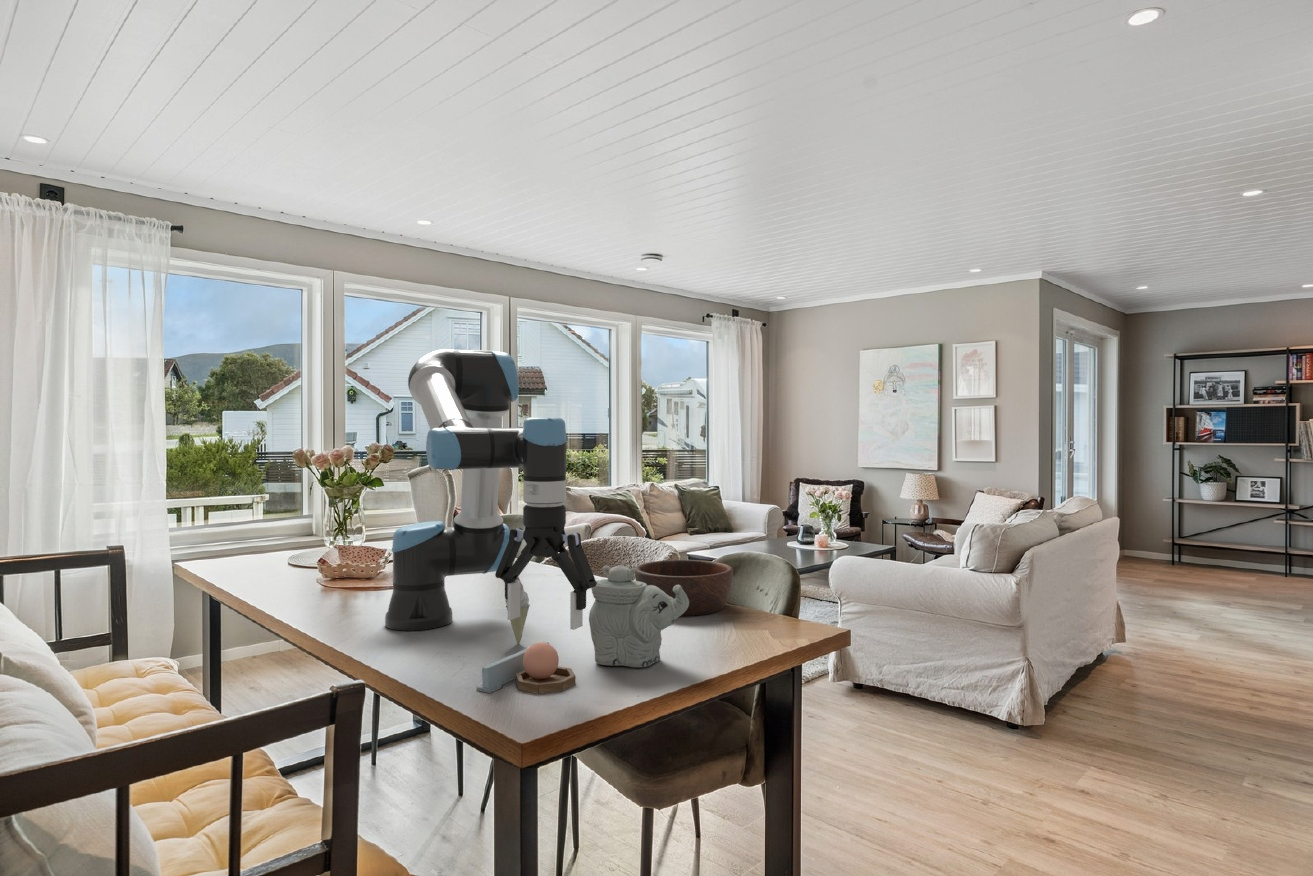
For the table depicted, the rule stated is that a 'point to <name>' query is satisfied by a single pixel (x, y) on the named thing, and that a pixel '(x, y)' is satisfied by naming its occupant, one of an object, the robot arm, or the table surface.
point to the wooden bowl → (690, 582)
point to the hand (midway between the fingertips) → (544, 623)
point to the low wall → (501, 672)
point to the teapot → (631, 618)
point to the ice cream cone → (520, 621)
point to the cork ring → (546, 681)
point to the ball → (540, 660)
